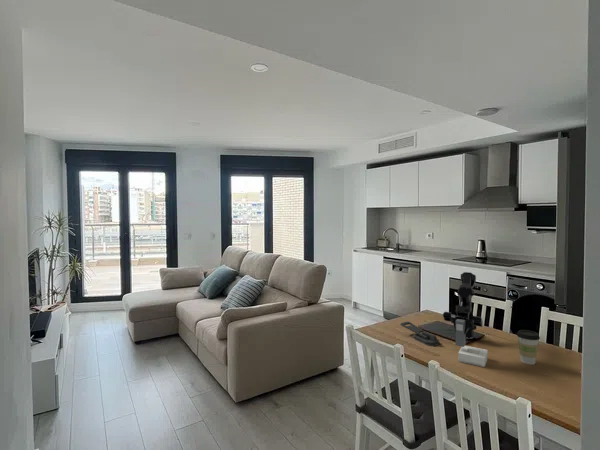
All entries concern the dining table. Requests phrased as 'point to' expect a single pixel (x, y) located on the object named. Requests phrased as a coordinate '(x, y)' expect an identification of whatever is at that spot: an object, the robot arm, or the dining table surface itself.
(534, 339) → the coffee cup
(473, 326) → the robot arm
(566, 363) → the dining table surface
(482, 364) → the block
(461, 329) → the bracket post
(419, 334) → the zipper pull
